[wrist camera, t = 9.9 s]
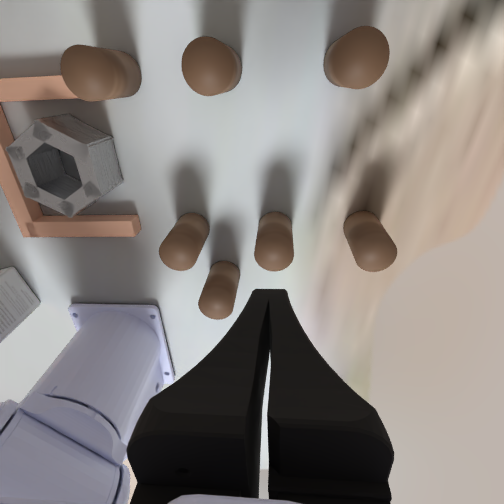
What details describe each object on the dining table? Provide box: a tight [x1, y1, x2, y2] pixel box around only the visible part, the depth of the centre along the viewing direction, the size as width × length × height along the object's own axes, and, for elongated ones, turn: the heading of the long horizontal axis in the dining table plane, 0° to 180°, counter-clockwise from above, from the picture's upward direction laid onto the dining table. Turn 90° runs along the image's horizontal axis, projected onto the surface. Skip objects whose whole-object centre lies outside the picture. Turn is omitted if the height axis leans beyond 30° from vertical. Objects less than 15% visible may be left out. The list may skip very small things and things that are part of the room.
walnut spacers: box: [60, 26, 397, 319], centre depth 19 cm, size 20×18×4 cm
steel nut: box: [5, 114, 123, 218], centre depth 20 cm, size 6×5×3 cm
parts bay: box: [0, 75, 141, 237], centre depth 21 cm, size 10×9×1 cm
